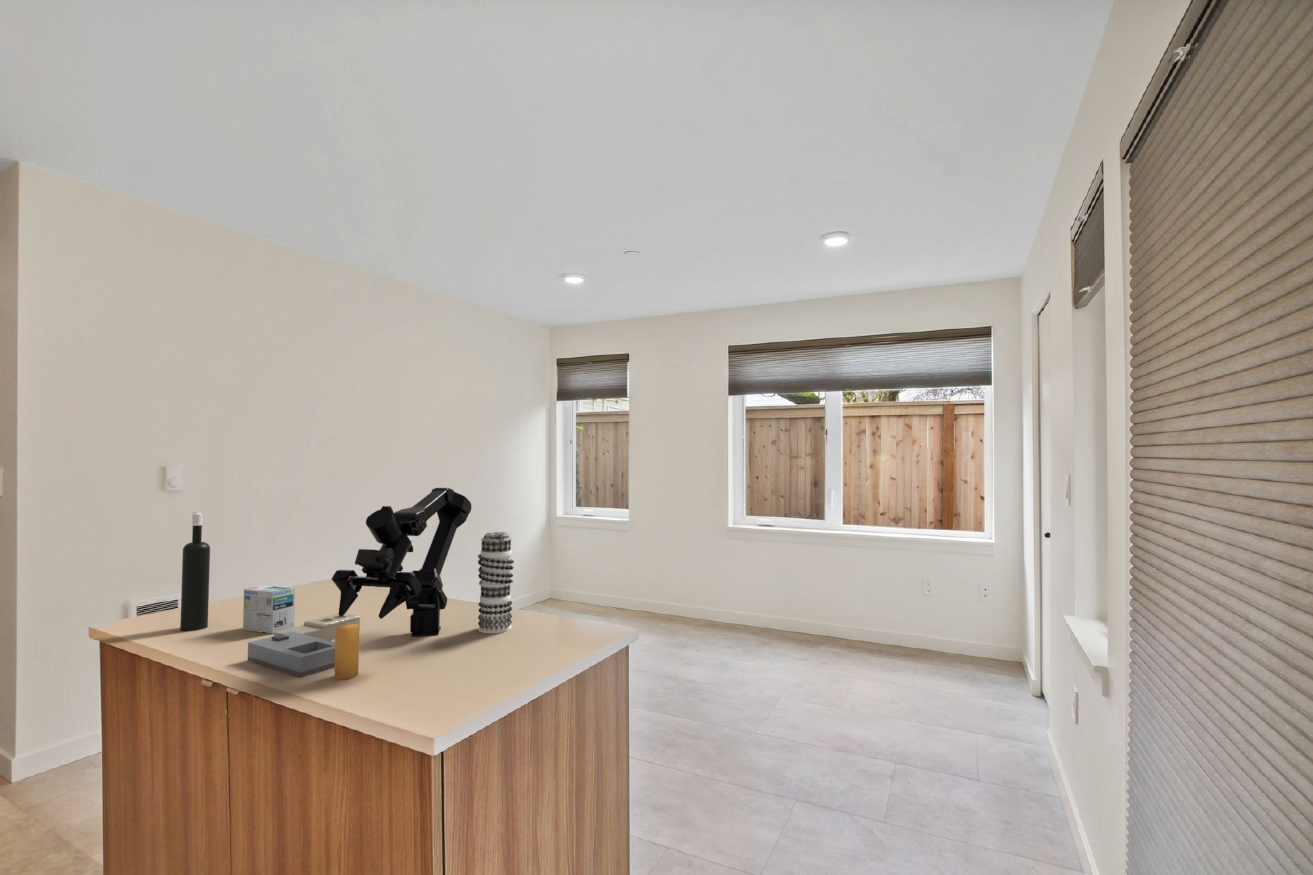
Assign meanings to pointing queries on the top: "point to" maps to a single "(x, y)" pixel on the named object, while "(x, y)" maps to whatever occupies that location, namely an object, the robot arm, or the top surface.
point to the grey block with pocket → (293, 653)
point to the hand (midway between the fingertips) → (359, 616)
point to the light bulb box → (269, 608)
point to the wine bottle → (195, 579)
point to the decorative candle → (495, 583)
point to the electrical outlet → (323, 626)
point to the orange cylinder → (346, 651)
